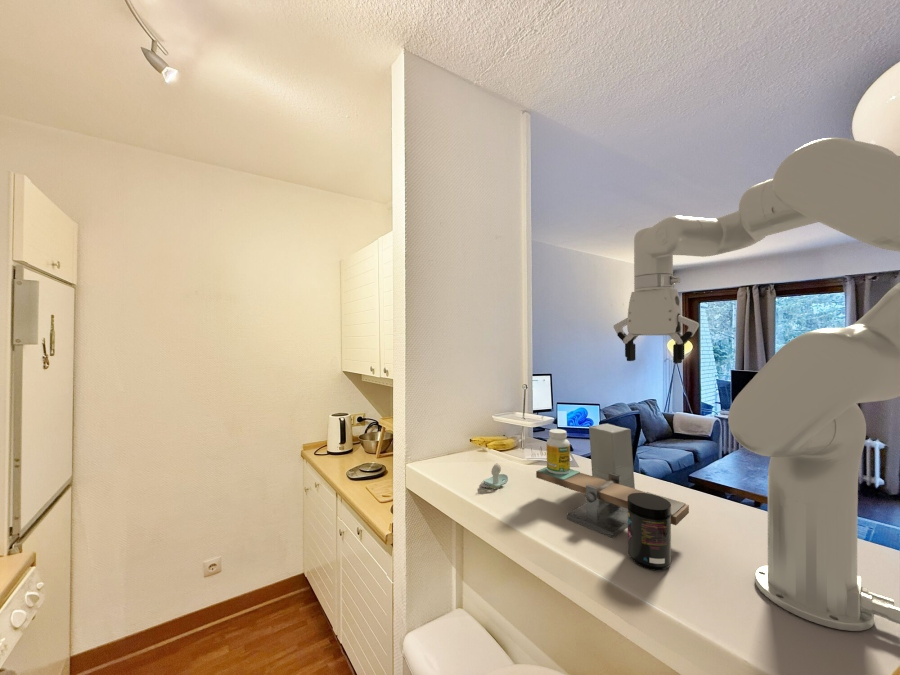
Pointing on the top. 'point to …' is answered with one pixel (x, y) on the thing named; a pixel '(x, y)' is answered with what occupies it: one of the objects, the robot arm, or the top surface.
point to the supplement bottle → (558, 452)
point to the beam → (607, 490)
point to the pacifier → (495, 478)
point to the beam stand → (600, 512)
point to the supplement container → (649, 530)
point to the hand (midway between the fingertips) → (653, 361)
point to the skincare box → (612, 453)
